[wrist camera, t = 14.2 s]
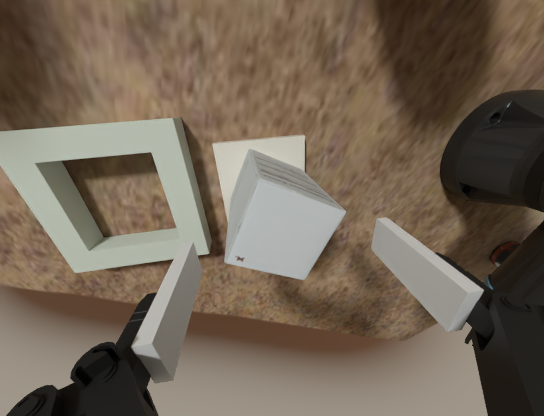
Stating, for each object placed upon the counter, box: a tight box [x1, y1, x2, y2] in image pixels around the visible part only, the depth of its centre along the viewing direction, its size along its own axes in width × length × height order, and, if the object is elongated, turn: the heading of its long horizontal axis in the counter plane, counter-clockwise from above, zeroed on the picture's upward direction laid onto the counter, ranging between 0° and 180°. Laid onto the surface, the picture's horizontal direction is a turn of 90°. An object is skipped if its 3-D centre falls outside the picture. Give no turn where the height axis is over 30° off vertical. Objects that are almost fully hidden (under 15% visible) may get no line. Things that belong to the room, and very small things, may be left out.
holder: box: [0, 117, 212, 273], centre depth 24 cm, size 17×17×3 cm
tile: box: [213, 135, 305, 221], centre depth 26 cm, size 11×11×1 cm
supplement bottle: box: [491, 242, 520, 267], centre depth 36 cm, size 6×6×11 cm
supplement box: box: [225, 149, 346, 280], centre depth 20 cm, size 7×7×13 cm
